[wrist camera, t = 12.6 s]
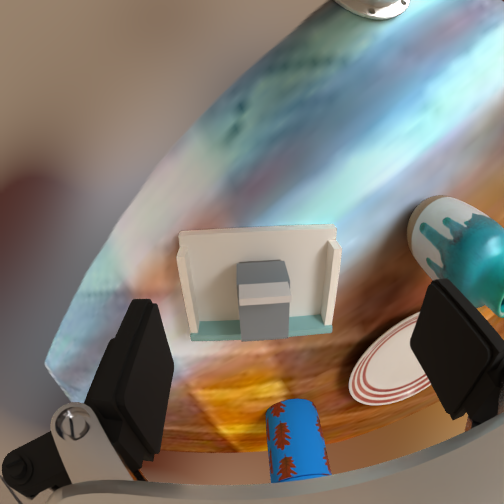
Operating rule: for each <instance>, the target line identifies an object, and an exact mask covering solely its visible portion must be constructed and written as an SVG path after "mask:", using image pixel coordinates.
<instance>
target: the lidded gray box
mask: <svg viewBox="0 0 504 504" xmlns="http://www.w3.org/2000/svg"><path fill="white" fill-rule="evenodd" d="M236 285H237V297H238V308H239V319H240V330H241V340H242V341H259V340H272V339H285V338H288V334H289V308H290V302H291V300H292V295H291V291H290V279H289V275H288V272H287V268H286V265H285V262H284V261H281V259H280V260H264V261H247V262H239V263H237V264H236Z"/></svg>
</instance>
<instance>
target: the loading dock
mask: <svg viewBox="0 0 504 504" xmlns="http://www.w3.org/2000/svg"><path fill="white" fill-rule="evenodd" d="M336 233H337V228H336V227H335V225H334V224H315V225H288V226H264V227H243V228H223V229H205V230H188V231H180V233H179V235H178V238H179V245H180V248H179V251H178V253H177V256H176V259H177V265H178V271H179V276H180V282H181V287H182V293H183V298H184V303H185V308H186V313H187V318H188V323H189V328H190V332H191V334H190V337H191V341H221V340H241V330H240V319H239V308H238V297H237V285H236V264H237V263H239V262H247V261H264V260H280V259H281V261H284V262H285V265H286V268H287V272H288V275H289V279H290V291H291V295H292V300H291V302H290V308H289V334H288V337H292V336H303V335H314V334H323V333H332V319H333V313H334V307H335V300H336V293H337V286H338V279H339V271H340V263H341V254H342V248H341V246H340V245H339V243H338V242H337V241H336Z"/></svg>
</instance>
